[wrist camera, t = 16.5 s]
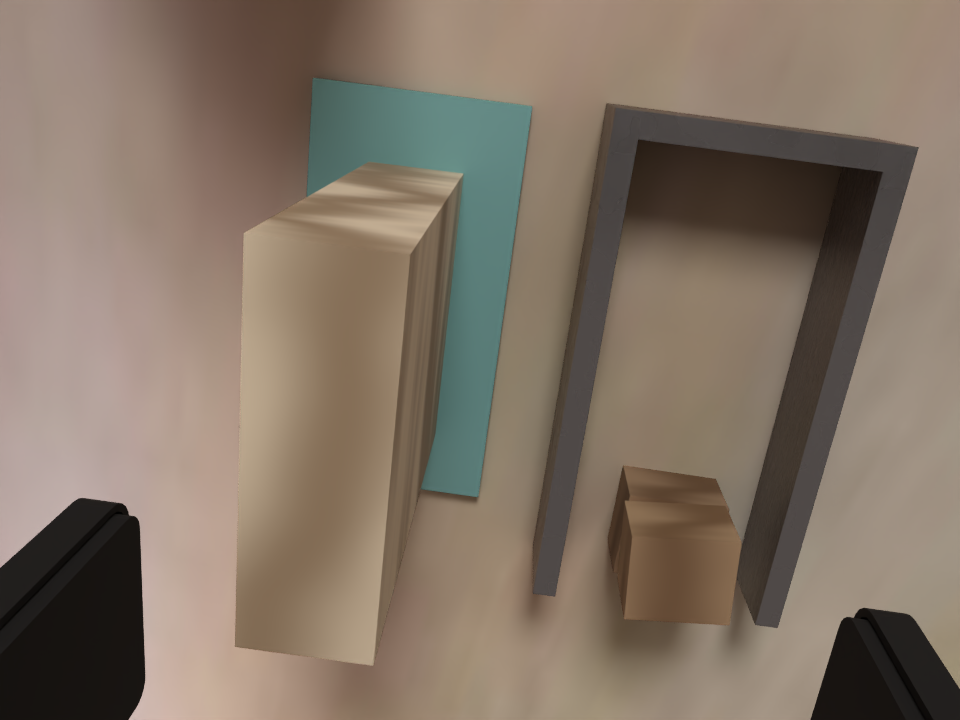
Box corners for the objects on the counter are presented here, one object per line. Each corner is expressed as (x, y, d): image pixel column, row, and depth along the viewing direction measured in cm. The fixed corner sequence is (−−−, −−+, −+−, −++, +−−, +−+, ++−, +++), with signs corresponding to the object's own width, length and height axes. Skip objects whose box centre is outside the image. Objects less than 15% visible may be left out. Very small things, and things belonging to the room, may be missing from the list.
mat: (532, 106, 34) (532, 106, 34) (478, 492, 40) (478, 497, 40) (315, 77, 34) (312, 77, 34) (294, 466, 40) (292, 471, 40)
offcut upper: (725, 505, 37) (741, 542, 34) (714, 583, 38) (729, 625, 35) (624, 500, 37) (632, 536, 34) (617, 578, 38) (624, 619, 35)
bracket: (875, 138, 34) (918, 147, 30) (754, 576, 41) (777, 628, 37) (606, 103, 34) (615, 107, 30) (532, 545, 41) (532, 593, 37)
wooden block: (463, 173, 35) (410, 254, 20) (435, 433, 39) (373, 665, 24) (368, 161, 35) (243, 232, 20) (350, 422, 39) (234, 647, 24)
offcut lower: (715, 478, 39) (729, 510, 37) (696, 550, 41) (708, 586, 38) (623, 464, 39) (629, 495, 37) (607, 537, 41) (613, 572, 38)
